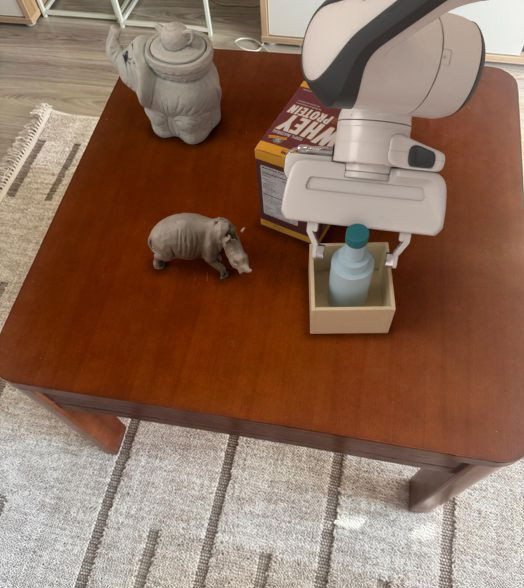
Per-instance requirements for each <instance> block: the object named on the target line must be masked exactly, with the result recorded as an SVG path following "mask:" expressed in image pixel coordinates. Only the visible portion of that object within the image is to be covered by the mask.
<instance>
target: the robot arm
mask: <svg viewBox="0 0 524 588" xmlns="http://www.w3.org/2000/svg"><path fill="white" fill-rule="evenodd" d="M485 1H488V0H324V1H323V3H321V5H319V7H318V8H317V9H316V10H315V12H314V13H313V14H312V16H311V18H310V20H309V22H308V24H307V27H306V29H305V33H304V36H303V40H302V45H301V50H300V68H301V73H302V76H303V78H304V81H306V83H307V84H308V86H309V88H310V90H311V91H312V93H313V94H314V95H315V97H316V98H317V99H318V101H319V102H320V103H321V104H322V105H323V106H324V107H325V108H338V109H341V112H340V114H339V117H338V124H337V132H336V139H335V146H334V147H330V146H309V145H307V144H300V145H298V147H295V148H293V149H291V150H290V151H289V152H288V153H287V154H286V157H285V163H284V174H285V177H286V178H287V182H286V186H285V190H284V195H283V200H282V207H281V212H282V214H283V216H284V217H285V218H286V219H288V220H296V221H305V222H307V233H308V236H309V238H310V240H311V243H312V245H313V252H312V258H314V259H323V257H324V250H325V245H323V244H321V243H320V244H319V242H318V239H317V237H316V234H315V232H317V231H318V229H319V223H323V224H331V226H332V225H333V226H340V227H349V226H350V225H352V224H362V225H364V226H366V227H367V228H368V230H378V231H387V232H394V233H395V232H396V233H398V234H397V235H398V236H397V239H398V241H399V244H398V245H397V246H396V247H395V248H394V250H393V251H392V252H391V251H389V252H386V260H385V263H384V267H388V268H391V269H397V267H398V260H399V256H400V255H401V254H402V253H403V252H404V250H405V249H407V247H408V246H409V244H410V243H411V238H412V235H413V234H414V235H421V236H430V237H431V236H433V237H435V236H437V235H438V234H439V233H441V232H442V230H443V228H444V224H445V217H446V209H447V196H448V195H447V192H448V191H447V190H448V189H447V183H446V181H445V178H443V176H442V175H441V174H439V173H438V172H440V171H442V170H443V169H444V166H445V164H446V155H445V153H444V152H442V151H440V150H438V149H435V148H433V147H431V146H428V145H426V144H425V143H423V142H420V141H417V140H415V139H413V138H411V133H412V126H413V123H412V121H413V120H412V119H413V117H414V118H421V119H429V120H434V119H442V118H450V117H452V116H454V115H455V114H457V113H458V112H459V111H461V110H462V109H464V107H465V106H466V105H467V104H468V103H469V102H470V101H471V99H472V98H473V96H474V95H475V93H476V92H477V90H478V88H479V86H480V83H481V80H482V77H483V74H484V71H485V64H486V56H487V55H486V42H485V38H484V35H483V32H482V29H481V27H480V26H479V24H478V23H477V22H475V21H473V20H470V19H468V18H467V17H464V16H462V15H460V14H455V13H452V12H450V11H453V10H456V9H457V8H458V9H459V8H461V7H464V6H467V5H470V4H475V3H479V2H485ZM297 150H298V153H292V152H294V151H297ZM299 153H301V154H299ZM309 154H315V155H309ZM332 155H333V161H334V162H332ZM339 162H340V163H339ZM311 243H310V244H311Z"/></svg>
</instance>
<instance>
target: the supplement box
mask: <svg viewBox="0 0 524 588" xmlns="http://www.w3.org/2000/svg"><path fill="white" fill-rule="evenodd" d="M340 112H341V109H338V108H325V107H324V106H323V105H322V104H321V103H320V102H319V101H318V99H317V98H316V97H315V95H314V94H313V93H312V91H311V90H310V88H309V86H308V84H307V83H306V81H305V80H303V81H302V83H300V86H299V87H298V88H297V90H296V91H295V92H294V94H293V95H292V97H291V98H290V99H289V101H288V102H287V104H285V106H284V108H283V109H282V110H281V111H280V113H278V115H277V117H276V119H274V121H273V123H272V124H271V125H270V127H269V128H268V129H267V131H266V132H265V134H264V135H263V136H262V138H261V139H260V141H259V142H258V143H257V145H256V146H255V148H254V159H255V160H254V161H255V170H256V183H257V192H258V204H259V205H258V206H259V218H260V225H262V226H265V227H267V228H269V229H271V230H275V231H277V232H279V233H282V234H285V235H287V236H289V237H292V238H296V239H298V240H300V241H303V242H306V243H308V244H312V243H311V240H310V238H309V236H308V233H307V222H305V221H296V220H288V219H286V218H285V217H284V216H283V214H282V212H281V207H282V200H283V195H284V190H285V186H286V182H287V178H286V177H285V174H284V163H285V157H286V154H287V153H288V152H289V151H290V150H291V149H293V148H295V147H298V145H300V144H307V145H309V146H330V147H334V146H335V139H336V132H337V124H338V117H339V114H340ZM292 153H298V150H297V151H294V152H292ZM299 154H301V153H299ZM309 155H315V154H309ZM332 162H334V161H333V155H332ZM339 163H340V162H339ZM331 226H332V224H323V223H319V229H318V231H317V232H315V234H316V237H317V239H318V242H319V244H321V242H322V240H323V239H324V237H325V235H326V234H327V232H328V230H329V229H330V227H331Z"/></svg>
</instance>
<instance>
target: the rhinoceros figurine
mask: <svg viewBox="0 0 524 588" xmlns="http://www.w3.org/2000/svg"><path fill="white" fill-rule="evenodd" d="M245 230H246V227H245V226H244V227H242V228H241V230H240V232H241V233H244V232H245ZM147 245H148V247H149V249H150V250H151V252H152V253H154V254H153V261H152V265H153V267H154V269H156V270H162V269H164V268H166V267H165V266H166V265H165V264H166V262H171V261H173V259H180V260H185V261H192V260H197V259H202V260H204V262H206V263H207V264H208V265H209V266H210V267H212V268H213V269H215V270H216V271H218V272H219V273H220V277H219V278H220V280H222V279H224V278H225V279H226V277H228V276H229V273H230V271H227V268H226V266H225V264H224V263H222V259H223V257H222V254H221V253H220V252H222V251H223V250H224V253H225V256H226V258H227V259H228V262H229V264H230V266H231V267H232V268H233V269H236V270H237V272H238V274H239V275H242V274H243V273H246V274H250V273H252V272H253V269H252V268H250V266H249V265H250V261H249V255H248V254H247V253H246V252H245V251H244V247H243V245H242V241H241V239H240V237H239V235H238V233H237V227H236V226H235V225H234V224H233V223H232V222H231V221H230V220H229V219H227V218H226V217H223V216H222V217H221V216H218V217H215V218H211V217H208V216H205V215H202V214H200V213H197V212H196V213H195V212H193V213H192V212H181V213H175V214H172V215H170V216H167V217H164V218H163V219H162V220H160V221H158V222H157V223H156V225H154V226H153V228H152V229H151V231H150V233H149V236H148V237H147Z"/></svg>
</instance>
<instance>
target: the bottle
mask: <svg viewBox="0 0 524 588" xmlns="http://www.w3.org/2000/svg"><path fill="white" fill-rule="evenodd" d="M369 238H370V229H368V228H367V227H366V226H364V225H362V224H352V225H350V226H347V228H346V230H345V238H344V241H345V242H344V243H346V245H344V246H342V247H341V248H339V249H338V250H337V251H336V252H335V253H334V254H333V256H332V260H331V269H330V278H329V288H328V303H329V305H330V307H364V306H365V303H366V299H367V295H368V291H369V286H370V282H371V277H372V273H373V269H374V258H373V256H372V254H371V253H370V252H369V251H368V249H367V248H366V247H365V246H366V245H367V243H369Z"/></svg>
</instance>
